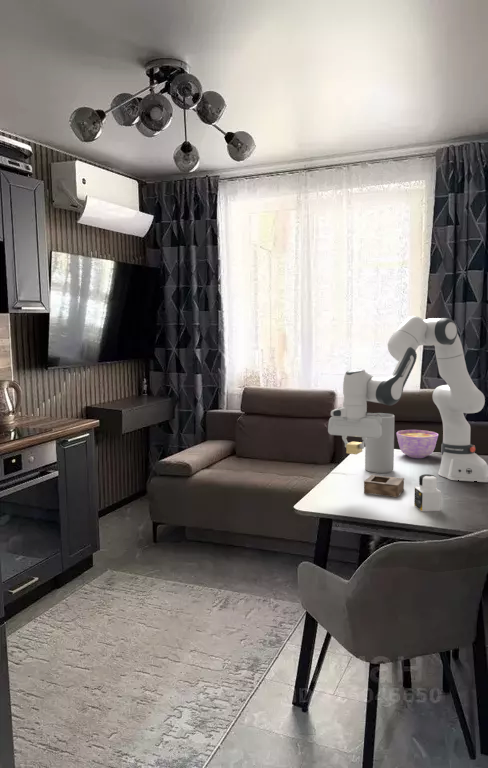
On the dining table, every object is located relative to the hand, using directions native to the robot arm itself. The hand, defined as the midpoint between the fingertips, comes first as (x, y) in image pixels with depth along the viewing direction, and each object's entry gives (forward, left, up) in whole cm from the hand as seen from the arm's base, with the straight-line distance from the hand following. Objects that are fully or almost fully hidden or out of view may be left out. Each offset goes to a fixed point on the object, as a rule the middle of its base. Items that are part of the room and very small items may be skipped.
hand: (354, 447), depth 222 cm
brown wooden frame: (-9, -11, -19) cm, 23 cm away
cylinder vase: (+1, -43, -19) cm, 47 cm away
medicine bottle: (-28, +4, -19) cm, 34 cm away
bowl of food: (-9, -78, -19) cm, 81 cm away
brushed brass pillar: (0, 0, -2) cm, 2 cm away
